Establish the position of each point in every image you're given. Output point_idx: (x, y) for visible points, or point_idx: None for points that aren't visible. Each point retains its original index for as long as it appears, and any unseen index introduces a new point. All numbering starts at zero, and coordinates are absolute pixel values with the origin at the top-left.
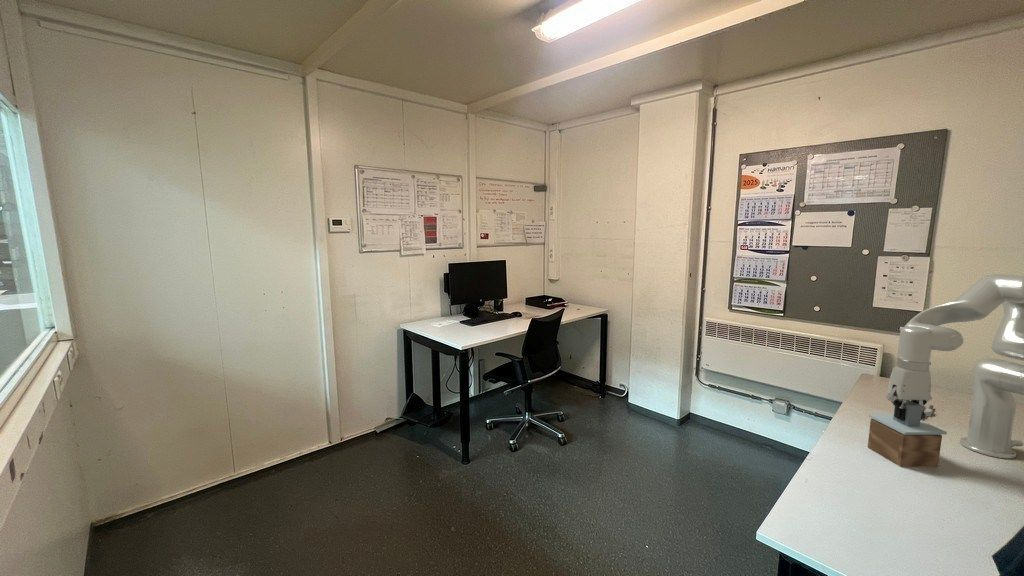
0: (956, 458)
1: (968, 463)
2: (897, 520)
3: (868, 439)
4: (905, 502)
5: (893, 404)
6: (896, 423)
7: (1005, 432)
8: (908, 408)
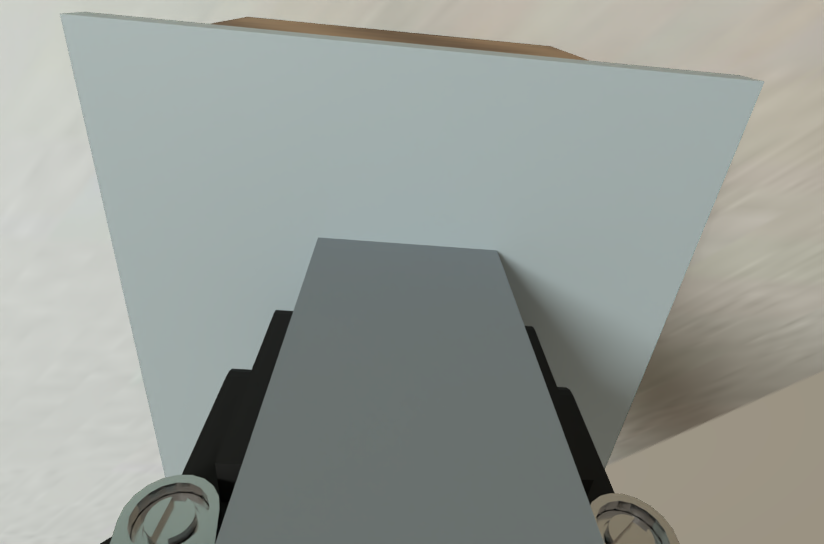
0: (745, 222)
1: (733, 276)
2: None
3: (224, 21)
4: (46, 500)
5: (128, 511)
6: (256, 338)
7: None
8: None
